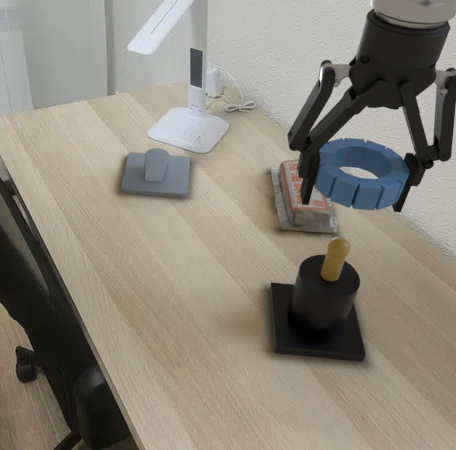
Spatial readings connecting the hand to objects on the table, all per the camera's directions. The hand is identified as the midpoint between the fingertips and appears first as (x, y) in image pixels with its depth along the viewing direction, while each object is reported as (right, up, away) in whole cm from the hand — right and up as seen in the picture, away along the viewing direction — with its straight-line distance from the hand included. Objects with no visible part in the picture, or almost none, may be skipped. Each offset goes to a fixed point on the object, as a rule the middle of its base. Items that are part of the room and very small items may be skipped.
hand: (349, 201), depth 66 cm
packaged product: (+4, +1, +36) cm, 36 cm away
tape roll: (0, +2, -2) cm, 3 cm away
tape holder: (0, -17, +14) cm, 22 cm away
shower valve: (-23, +6, +40) cm, 46 cm away
